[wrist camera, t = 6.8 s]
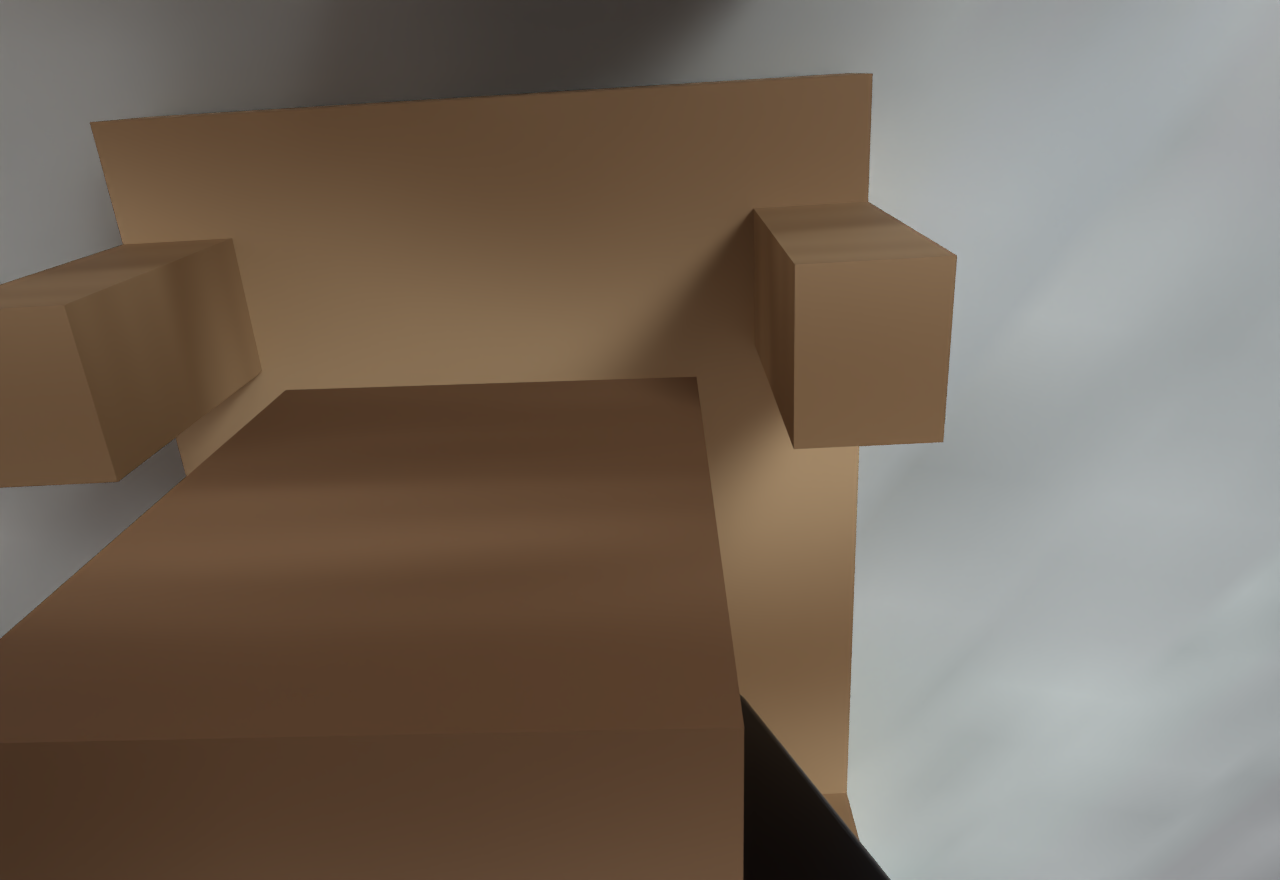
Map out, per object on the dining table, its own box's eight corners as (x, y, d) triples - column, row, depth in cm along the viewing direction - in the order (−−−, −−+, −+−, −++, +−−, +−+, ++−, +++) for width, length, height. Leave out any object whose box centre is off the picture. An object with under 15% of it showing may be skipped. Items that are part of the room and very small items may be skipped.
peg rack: (150, 116, 10) (-150, 145, 7) (848, 72, 10) (970, 74, 6) (341, 886, 15) (230, 1173, 11) (826, 869, 15) (890, 1159, 11)
